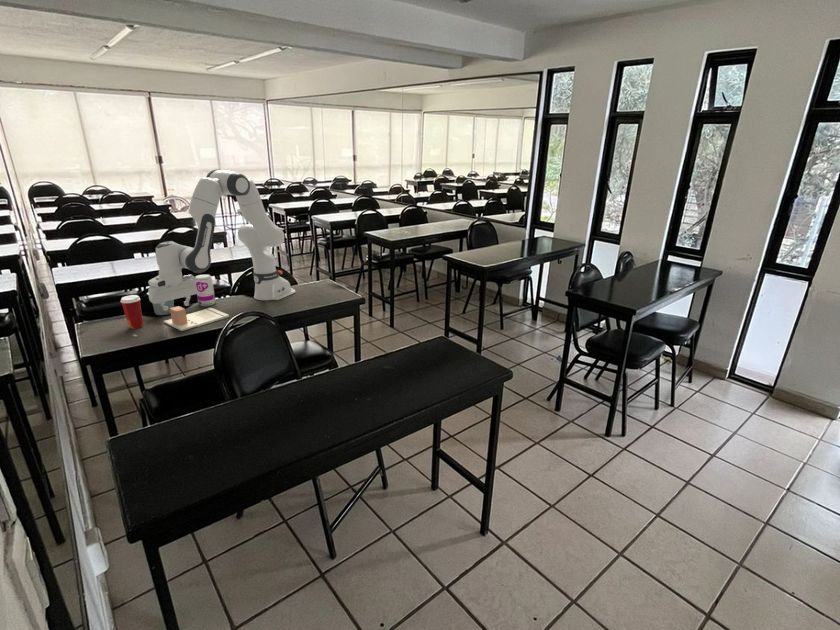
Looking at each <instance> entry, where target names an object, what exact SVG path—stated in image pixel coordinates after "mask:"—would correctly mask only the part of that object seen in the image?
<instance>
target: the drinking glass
mask: <svg viewBox="0 0 840 630" xmlns="http://www.w3.org/2000/svg"><path fill="white" fill-rule="evenodd" d="M174 300H175V299H174ZM174 300H170V301H165V304H164V306H167V307H168V311H164V310H163V307H162V306H161V305H160V304H159V303H157V304H154V303H152V306H153V310H154V314H155V315H157V316H166V315H171V312H170V308H173V307H175V304H174V303H175V301H174Z"/></svg>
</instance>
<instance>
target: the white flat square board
mask: <svg viewBox="0 0 840 630" xmlns="http://www.w3.org/2000/svg"><path fill="white" fill-rule="evenodd" d="M186 317H187V321H189V322H192V323H194V324H196V325H197V327H201V326H206V325H208V324H211V323H214V322H217V321H221V320H224V319H227V318H229V317H230V315H229V314H228V313H225V312H223V311H221V310H218V309H216V308H213V307H208V308H204V309H201V310H198V311H194V312H192V313H186Z"/></svg>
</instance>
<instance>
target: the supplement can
mask: <svg viewBox="0 0 840 630" xmlns="http://www.w3.org/2000/svg"><path fill="white" fill-rule="evenodd" d="M194 277H195V284H196V287H197V291H198V292H197V294H196V297H197V303H198V305H199V306H200V307H210V306H213V305H214V304H215V303H216V296H215V290H214V289H215V288H214V284H213V283H214V282H213V278H212V276H211V275H210V274H209V273H208V274H202V273H201V274H198V275H196V276H194Z"/></svg>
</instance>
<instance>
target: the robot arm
mask: <svg viewBox="0 0 840 630" xmlns="http://www.w3.org/2000/svg"><path fill="white" fill-rule="evenodd" d="M223 195H227V196H234V197H235V198H236V201H237V204H238V207H239V210H240V213H241V215H242V218H243V219H244V220H245V221H246V222H247V224H242V225H240V227H239V228H238V230H237V237H238V240H239V241H240V242H241V243H242V244H243V245H244V246H245V247H246V248H247V249H248V252H249V254H250V257H251V259H252V260H251V261H252V265H253V281H254V284H255V285H254V296H253V298H254V299H255V300H259V301H279V300H281V299H283V298H286V297H289V296H291V295H293V294H296V289H294V288H292V287H291V286H292V285H291V283H290V282H289V281H288V280H287V279H285V278H284V277H281V276H280V275H283V271H282V270H279V269H278V270H277V268H276V261H275V260H276V259H275V256H274V255H273V253H271V252H270V250H268V247H269V248H276V247H280V246H282V244H283V243H284V242H285V233H284V231H283V229H282V228H280V227H279V226H278V225H276V224H275V222H273V221H272V220H271V218H270V217H269V215H268V214H267V212H266V209H265V207H264V204H263V201H262V199H261V195H260V193H259V190H258V187H257V186H256V184H255V182H254V180H252V178H249V177H247V176H245V175H244V174H243V173H241V172H237V171H233V170H229V169H219V168H218V169H216V168H215V169H212V170H210V171H209V172H208V173H207V174H206V176H205V177H201V178H200V179H199V180H198V182H197V184H196V186H195V188H194V191H193V193H192V195H191V199H190V201H189V208H188V209H189V214H190V216H191V218H192V219H193V220H194V221H195V223H196V225H197V234H196V238H195V239H196V240H195V243H194V244H195V245H194V247H191V246H189V245H188V246H187V245H183V244H179V243H177V242H174V241H173V240H167V241H166V240H165V241H163V242H160V243H159V244H157V245H156V247H155V258H156V263H157V264H156V265H157V266H158V275H157V276H155V277H153V278H151V279H149V280H148V282H147V283H148V285H149V287H148V290H147V291H148V300H149V302H150V303H152V304H153V303H154V304H157V303H159V304H160V305H161V306H162V307H163V310H164V311H168V307H167V306H164V304H165V301H170V300H177V299H180V298H185V301H183V306H185V307H187V306H190V300H191V298H192V297H191V296H193V295H197V292H198V291H197V287H196V284H195V276H194V275H193V274H188V275H183V273H182V270H183V269H188V270H189V271H191V272H192V273H195V274H202V273H205V272H206V271H207V270H208V269H209V268H210V266H211V262H212V259H211V249H212V245H213V239H214V234H215V233H214V232H215V227H216V215H217V211H218V206H219V203H220V199H221V197H222V196H223Z"/></svg>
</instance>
